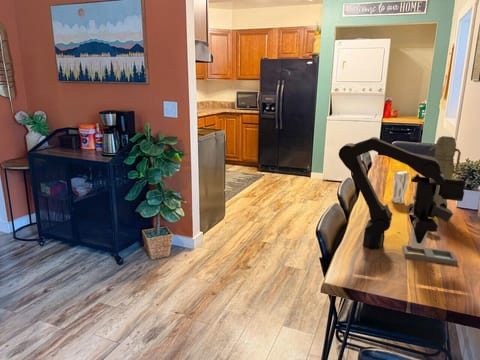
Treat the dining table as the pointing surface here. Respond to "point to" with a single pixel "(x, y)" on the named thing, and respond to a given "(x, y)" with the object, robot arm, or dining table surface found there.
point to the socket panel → (430, 255)
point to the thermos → (445, 160)
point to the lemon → (435, 221)
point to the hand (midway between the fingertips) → (417, 240)
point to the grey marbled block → (400, 186)
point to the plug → (414, 242)
